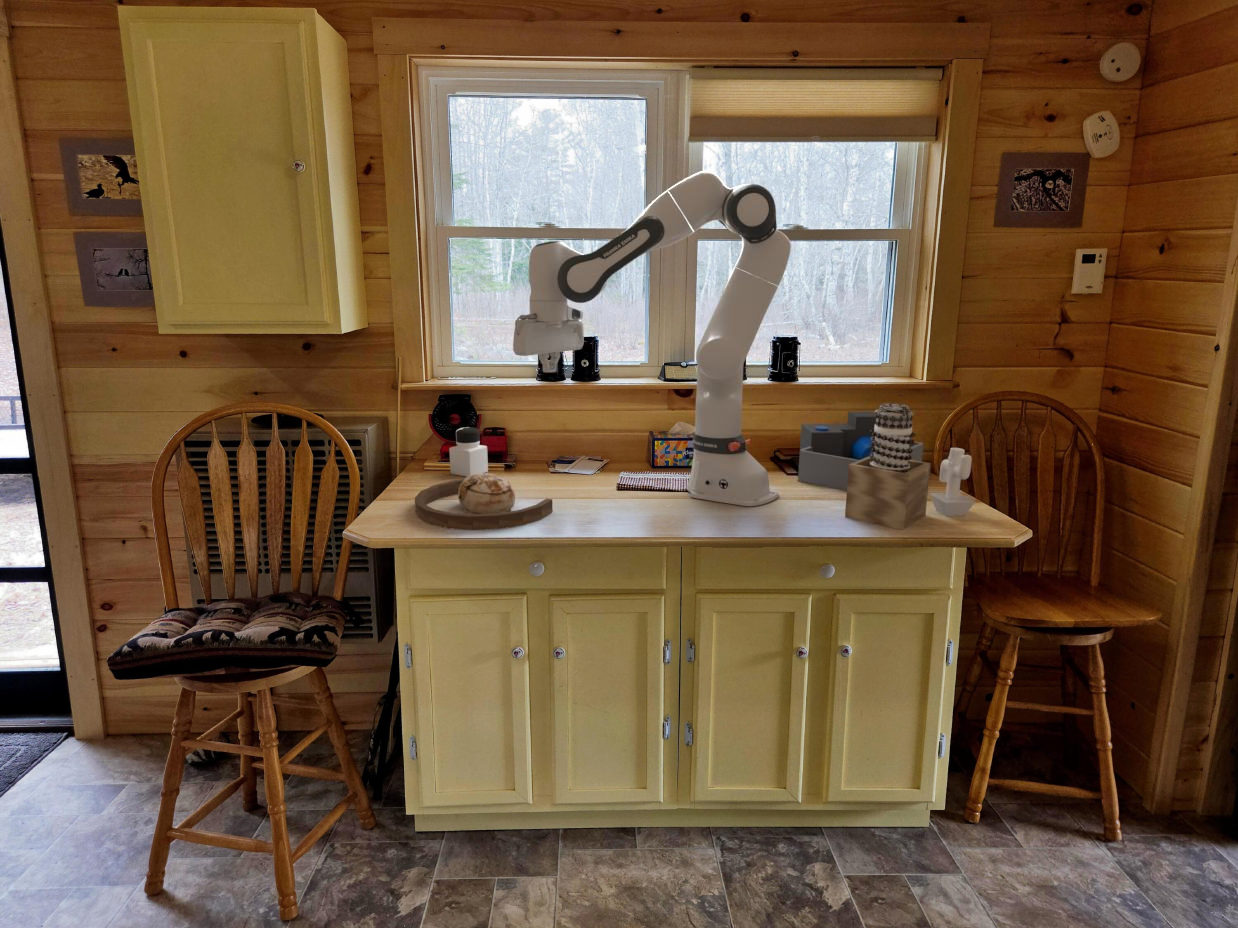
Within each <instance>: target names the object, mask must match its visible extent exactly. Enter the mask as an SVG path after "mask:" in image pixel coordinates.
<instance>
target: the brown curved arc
mask: <svg viewBox="0 0 1238 928" xmlns="http://www.w3.org/2000/svg"><path fill="white" fill-rule="evenodd" d="M464 479H465V478H460V479H454V480H450V481H446V482H442V483H438V484H434V485H431V486H429V487H428V488H425V489H422V490H420V492H418V494H417V495H416V496H415V497H414V507H415V514H416V516H417V518H418V519H419V520H420V521H423V522H425V523H426V524H428V525H431V526H432V525H433V526H435V525H436V527H440V526H441V527H440V528H444V527H446V528H445V529H449V528H454V529H455V530H463V531H464V530H466V531H483V530H486V529H488V530H501V528H502V529H507V528H506V527H508V528H512V527H513V528H514V527H521V526H525V525H528V524H531V523H534V522H537V521H540V520H543V519H545V518H546V517H547V516H548V515H550V514H552V513H553V498H545V499H543V500H542V501H540V502H538V503H536V504H535V505H532V506H528V507H524V508H521V509H516V510H511V511H509V512H503V513H493V514H469V513H460V512H459V513H458V512H449V511H445V510H439V509H436V508H432V507H431V506H430V505H428V504H431V503H432V502H435V501H437V500H438V499H443V498H445V497H446V498H447V497H450V496H454V495H458V490H459V487H460V485H461V483H462V482H463V481H464ZM527 523H528V524H527ZM454 529H453V530H454Z"/></svg>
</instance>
